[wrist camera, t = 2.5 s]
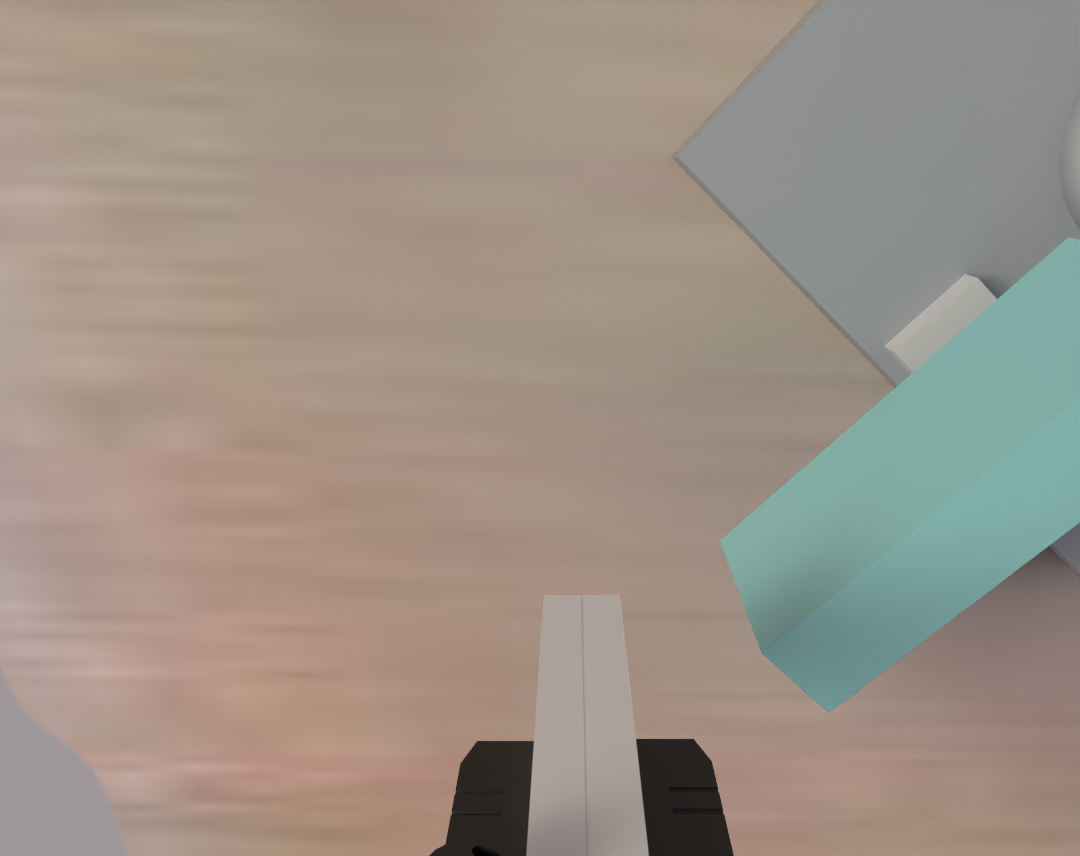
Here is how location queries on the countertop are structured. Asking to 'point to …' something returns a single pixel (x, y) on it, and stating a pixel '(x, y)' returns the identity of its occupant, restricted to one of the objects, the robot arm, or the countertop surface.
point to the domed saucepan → (923, 495)
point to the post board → (906, 164)
